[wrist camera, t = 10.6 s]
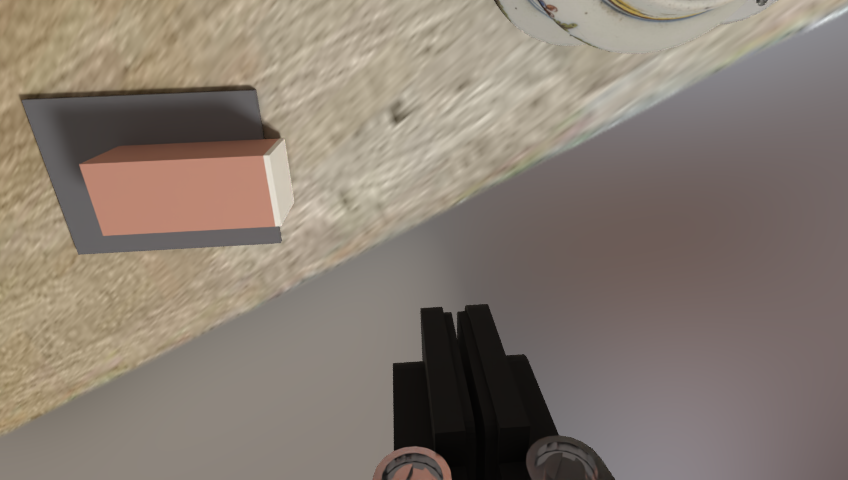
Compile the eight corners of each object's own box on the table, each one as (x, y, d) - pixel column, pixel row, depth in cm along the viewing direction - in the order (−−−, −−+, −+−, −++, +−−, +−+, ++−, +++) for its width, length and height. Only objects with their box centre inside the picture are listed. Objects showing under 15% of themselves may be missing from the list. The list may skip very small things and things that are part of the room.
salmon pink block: (269, 155, 31) (79, 164, 31) (281, 226, 33) (103, 235, 33) (284, 138, 36) (118, 145, 35) (294, 201, 38) (138, 209, 37)
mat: (256, 89, 35) (254, 90, 34) (281, 240, 40) (280, 243, 39) (26, 99, 34) (21, 100, 33) (82, 251, 39) (78, 254, 38)
